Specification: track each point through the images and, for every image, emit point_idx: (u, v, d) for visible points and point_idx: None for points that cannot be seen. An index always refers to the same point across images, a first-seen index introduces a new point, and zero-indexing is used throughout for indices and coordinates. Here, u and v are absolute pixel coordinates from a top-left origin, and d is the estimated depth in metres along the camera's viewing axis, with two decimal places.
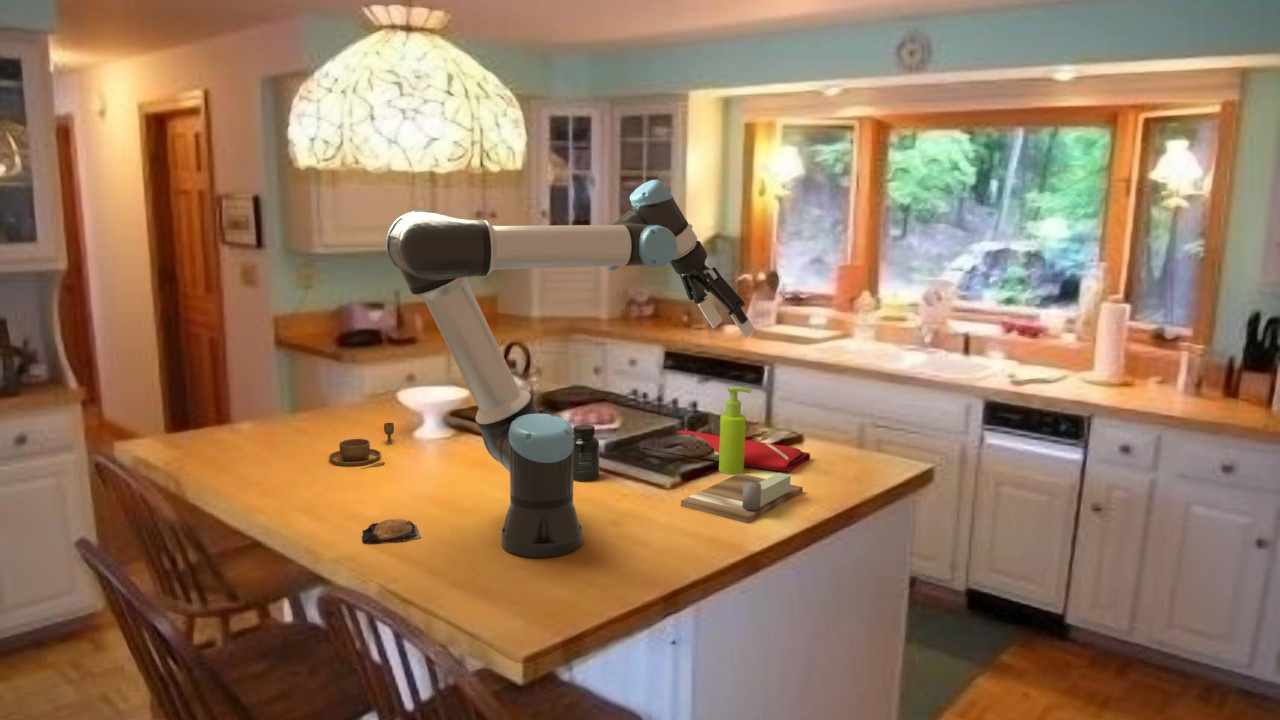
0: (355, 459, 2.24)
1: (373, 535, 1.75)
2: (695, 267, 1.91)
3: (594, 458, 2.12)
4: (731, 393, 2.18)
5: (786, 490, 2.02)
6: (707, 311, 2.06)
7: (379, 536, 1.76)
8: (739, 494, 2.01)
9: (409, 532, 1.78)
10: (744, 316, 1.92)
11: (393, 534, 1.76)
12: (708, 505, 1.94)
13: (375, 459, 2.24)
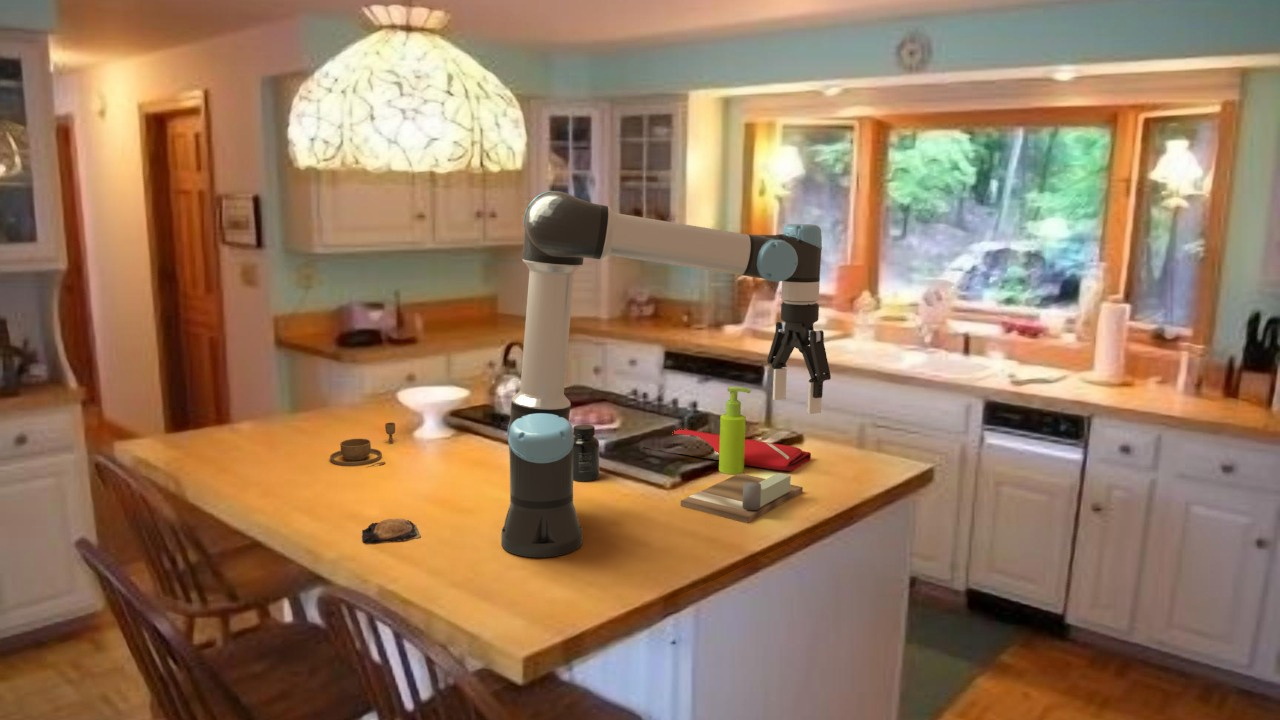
0: (356, 459, 2.24)
1: (373, 535, 1.75)
2: (804, 321, 1.86)
3: (594, 458, 2.12)
4: (731, 393, 2.18)
5: (786, 490, 2.02)
6: (779, 381, 1.98)
7: (379, 536, 1.76)
8: (739, 494, 2.01)
9: (409, 531, 1.78)
10: (821, 392, 1.85)
11: (394, 534, 1.76)
12: (708, 505, 1.94)
13: (376, 459, 2.25)
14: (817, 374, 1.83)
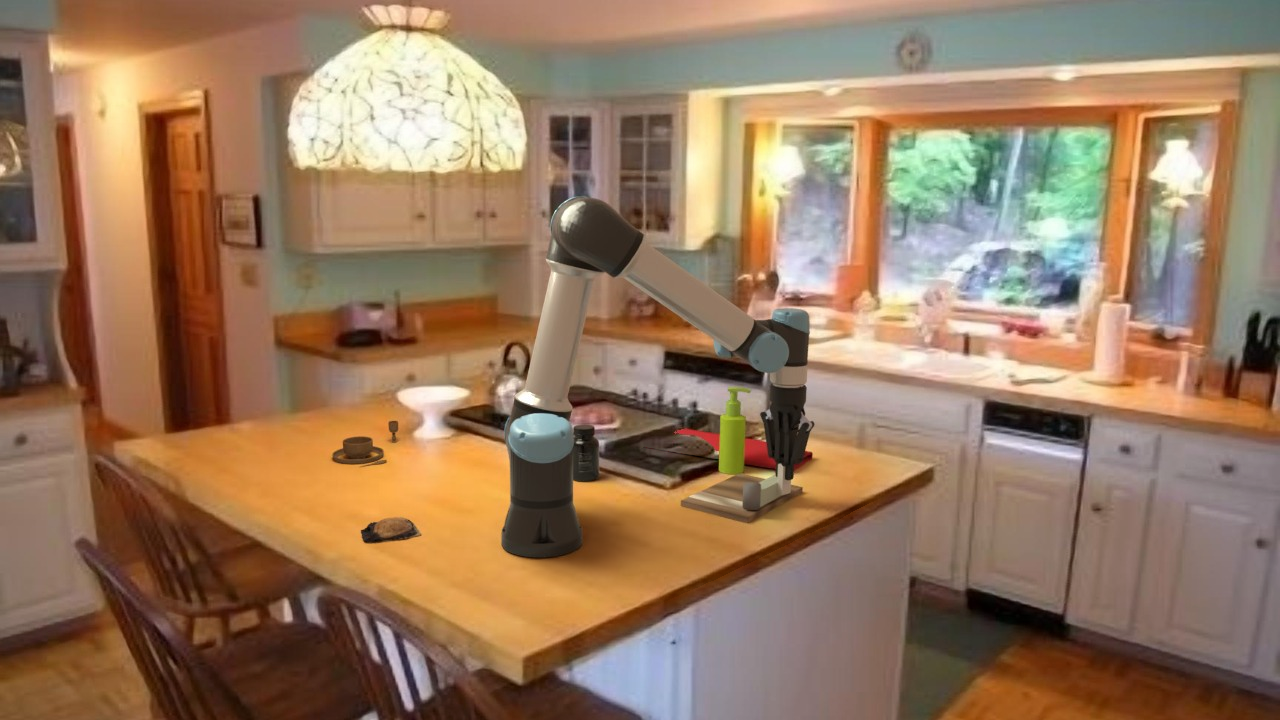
0: (358, 456, 2.26)
1: (375, 534, 1.76)
2: (797, 403, 1.91)
3: (594, 458, 2.12)
4: (731, 393, 2.18)
5: None
6: None
7: (380, 535, 1.76)
8: (739, 494, 2.01)
9: (410, 530, 1.79)
10: (792, 474, 1.97)
11: (395, 532, 1.77)
12: (708, 505, 1.94)
13: (377, 457, 2.26)
14: (792, 458, 1.94)
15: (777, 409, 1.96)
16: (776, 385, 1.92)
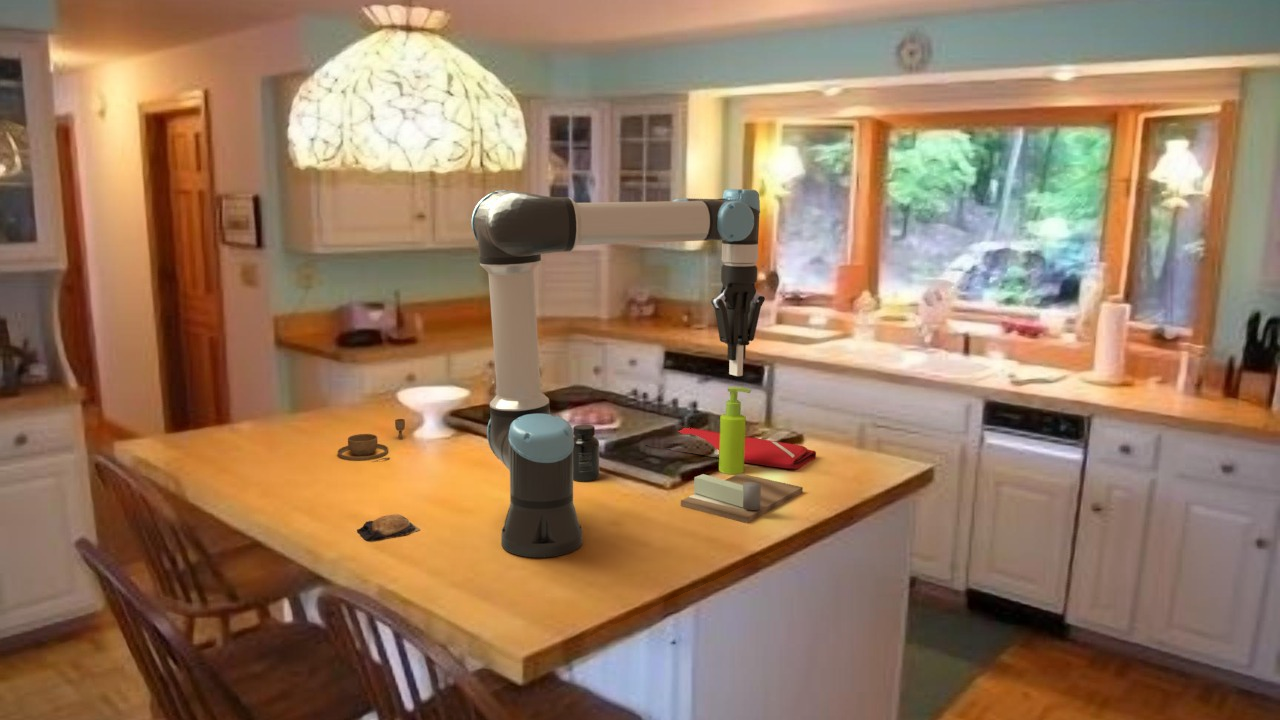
0: (362, 454, 2.29)
1: (377, 532, 1.77)
2: None
3: (594, 458, 2.12)
4: (731, 393, 2.18)
5: None
6: None
7: (382, 533, 1.78)
8: None
9: (409, 525, 1.81)
10: None
11: (396, 529, 1.79)
12: (708, 505, 1.94)
13: (381, 454, 2.29)
14: (752, 335, 2.00)
15: (735, 291, 1.96)
16: (747, 265, 1.94)
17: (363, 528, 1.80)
